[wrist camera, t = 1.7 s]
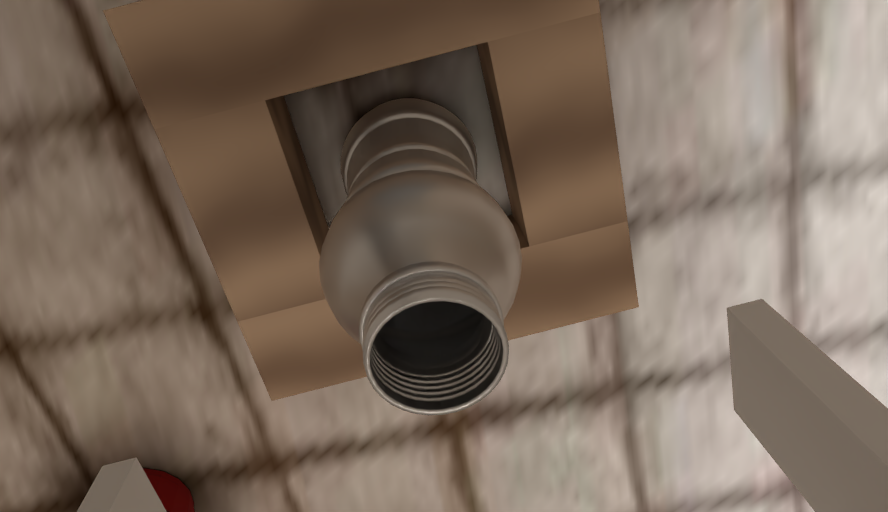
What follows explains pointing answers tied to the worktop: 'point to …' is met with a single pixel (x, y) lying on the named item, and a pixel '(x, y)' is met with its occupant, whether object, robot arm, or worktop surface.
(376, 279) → the plastic bottle
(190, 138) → the walnut frame
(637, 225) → the worktop surface
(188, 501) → the plastic cup
